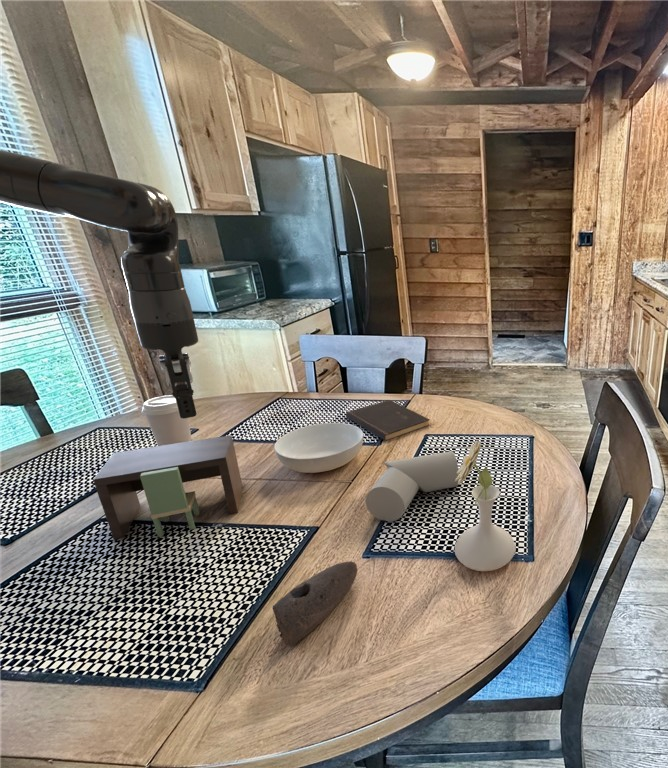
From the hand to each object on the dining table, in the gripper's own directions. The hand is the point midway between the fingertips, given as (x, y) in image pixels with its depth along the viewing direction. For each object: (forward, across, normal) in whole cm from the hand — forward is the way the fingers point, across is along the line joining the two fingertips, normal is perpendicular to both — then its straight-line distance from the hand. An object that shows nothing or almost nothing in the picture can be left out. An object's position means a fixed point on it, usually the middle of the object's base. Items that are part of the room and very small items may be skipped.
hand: (186, 409), depth 73 cm
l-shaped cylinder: (+27, +13, +37) cm, 48 cm away
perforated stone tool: (+27, +32, +10) cm, 43 cm away
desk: (+27, -12, -4) cm, 30 cm away
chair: (+27, -8, -5) cm, 28 cm away
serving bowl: (+27, -16, +25) cm, 40 cm away
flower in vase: (+27, +37, +37) cm, 59 cm away
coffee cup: (+27, -44, -4) cm, 52 cm away
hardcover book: (+27, -30, +49) cm, 63 cm away
